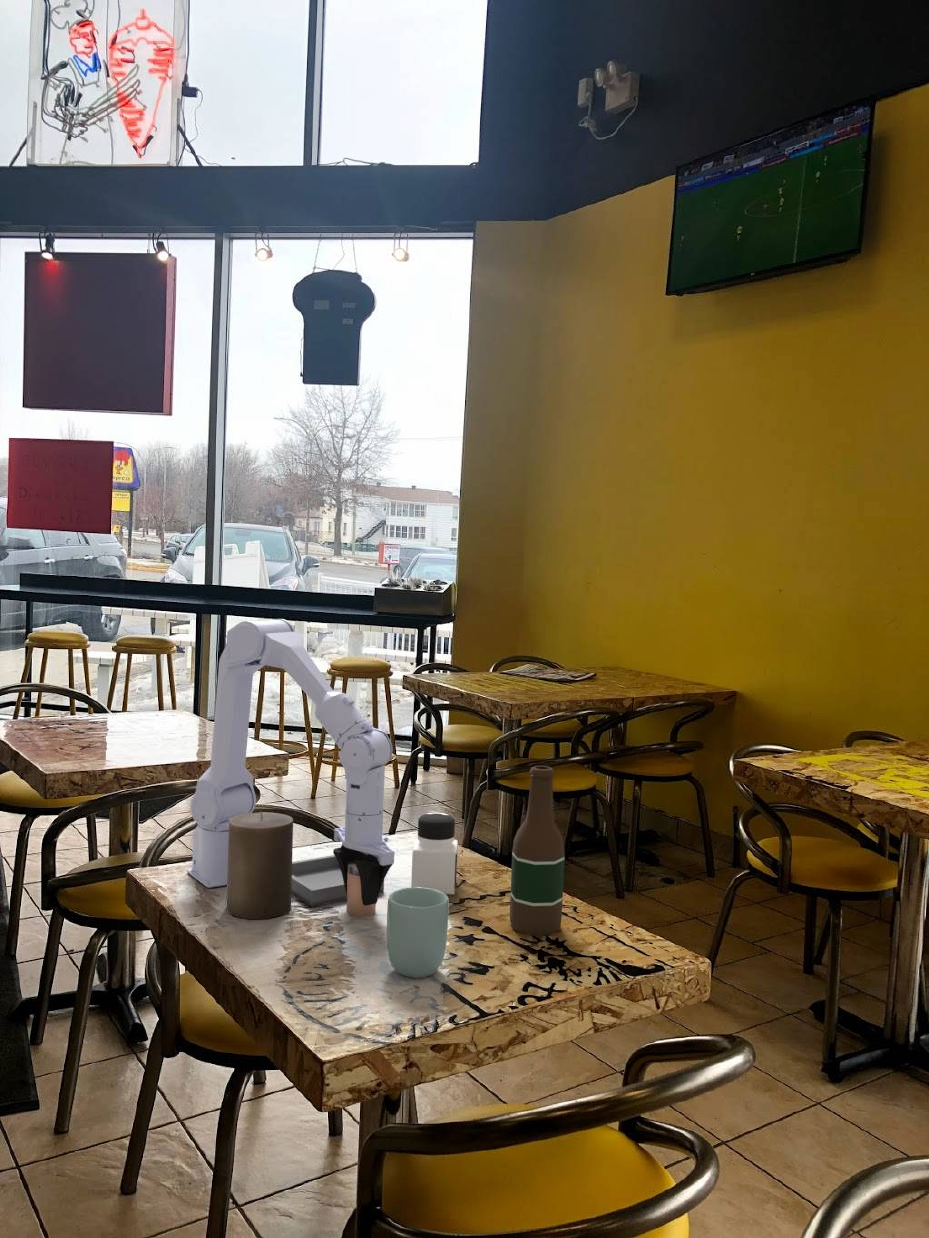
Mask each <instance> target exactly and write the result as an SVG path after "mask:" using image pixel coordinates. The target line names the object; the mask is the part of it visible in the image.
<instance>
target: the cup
mask: <svg viewBox="0 0 929 1238" xmlns="http://www.w3.org/2000/svg"><path fill="white" fill-rule="evenodd" d="M449 900H450V899H449V897H448V894H444V893H443V892H440V891H438V890H434V889H430V888H423V887H411V886H410V887H405V888H400V889H398V890H395V891H393V892H391V893H390V894H389V895H388V899H387V909H386V910H387V912H386V916H387V917H386V947H387V948H386V950H387V954H388V960H389V963H390V965H391V967H392V968H393V969H394V970H395V972H397V973H398V974H400V975H402V976H404V977H408V978H413V979H419V978H421V979H422V978H425V977H428V976H431V975H433V974H434V973H436V972H437V971H438V970H439V969H440V967H441V965H442V964H443V961H444V958H445V955H446V950H447V941H448V934H449V933H448V932H449V931H448V930H449V913H450V912H449V911H450V909H449V908H450V905H449V904H450V903H449V902H450V901H449Z"/></svg>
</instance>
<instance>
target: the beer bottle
mask: <svg viewBox="0 0 929 1238" xmlns="http://www.w3.org/2000/svg"><path fill="white" fill-rule="evenodd" d="M529 775H530V782H529V783H530V784H529V793H528V801H527V802H528V804H527V811H526V815H525V820H524V821H523V823H522V824H521V825H520V826H519V828H517V831H516V834H515V836H514V838H513V844H512V845H513V846H512V853H511V870H510V871H511V872H510V873H511V874H510V875H511V876H510V878H511V879H510V897H509V922H510V925H511V926H512V928H513V929H514V931H515V932H518V933H522V934H525V935H528V936H533V937H534V936H551V935H552V934H554V933H555V932H557V931H559V930H560V929H561V926H562V925H561V924H562V917H563V901H564V900H563V899H564V878H565V874H564V873H565V857H566V856H565V842H564V839H563V835H562V833H561V831H560V830H559V828H558V826H557V824H556V823H555V817H554V816H555V815H554V792H553V788H554V783H553V782H554V781H553V780H554V779H553V778H554V777H555V776H556V775H555V769H553V768H552V767H550V766H547V765H534V766H533V767H530V770H529Z"/></svg>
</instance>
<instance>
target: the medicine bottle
mask: <svg viewBox="0 0 929 1238" xmlns="http://www.w3.org/2000/svg"><path fill="white" fill-rule="evenodd" d="M417 823H418V824H417V838H415V840H414V844H413V849H412V856H411V857H412V858H411V859H412V860H411V881H410V882H411V883H410V884H411V886H410V888H411V887H423V888H430V889H434V890H438V891H440V892H443V893H444V894H446V895H447V896H448V895H451V896H452V895H455V894H456V890H457V889H456V888H457V886H456V885H457V875H458V874H457V871H458V868H457V867H458V866H457V865H458V851H459V850H458V845H459V841H458V840H457V839H455V833H456V832H455V829H456V819H455V818H454V817H453V816H452V815H449V814H447V813H444V812H428V813H425V814H423V815H421V816H419V818H418V820H417Z"/></svg>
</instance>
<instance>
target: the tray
mask: <svg viewBox="0 0 929 1238" xmlns="http://www.w3.org/2000/svg"><path fill="white" fill-rule="evenodd" d="M384 892H385V880H384V881H383V883H382V886H381V890H380V893H379V894H382V893H384ZM291 895H293V896H295V897H296V898H297V899H299V900H301V901H302V902H304V903H305V904H307V905H308V906H310V907H316V906H321V905H326V904H331V903H337V902H341V901H347V894H346V891H345V886H344V881H343V876H342V872H341V869H340V866H339V863H338V861H337V859H336V857H335V855H334V854H333V855H325V856H321V857H320V856H319V857H315V858H309V859H303V860H298V861H297V860H296V861H292V892H291Z"/></svg>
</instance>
